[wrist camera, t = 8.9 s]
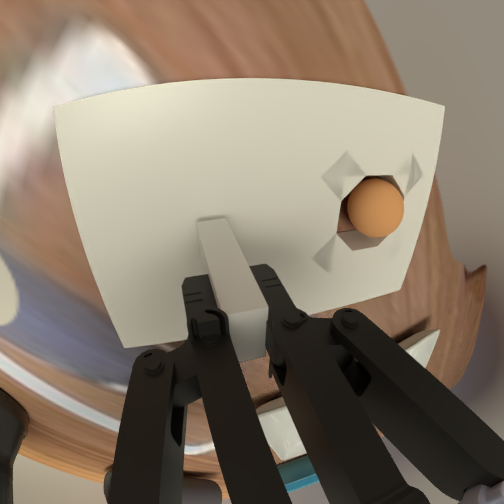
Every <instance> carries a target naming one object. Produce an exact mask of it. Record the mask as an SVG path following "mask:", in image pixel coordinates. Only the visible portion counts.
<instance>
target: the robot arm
mask: <svg viewBox="0 0 504 504" xmlns="http://www.w3.org/2000/svg"><path fill="white" fill-rule="evenodd" d="M196 225H197V235H198V244H199V253H200V262H201V269H202V272H203V275H198V276H192V277H186V278H185V279H184V281H183V283H182V286H181V287H182V294H183V300H184V306H185V312H186V318H187V329H188V337H187V339H186V341H185V342H184V343H183V344H182V345H181V346H180V347H178V348H177V349H175V350H173V351H171V352H168V353H166V352H165V351H162V350H158V349H154V350H148V351H146V352H143V353H142V354H140V355H139V356H138V357H137V358H136V360H135V362H134V365H133V369H132V373H131V377H130V381H129V385H128V390H127V394H126V399H125V403H124V408H123V413H122V418H121V423H120V428H119V434H118V439H117V445H116V450H115V457H114V463H113V469H112V476H111V484H110V492H109V500H108V504H182V484H183V463H184V446H185V431H186V418H187V406H188V404H190V403H192V402H194V401H196V400H197V399H199V398H201V397H202V399H203V403H204V407H205V412H206V416H207V420H208V424H209V427H210V431H211V435H212V439H213V443H214V446H215V450H216V454H217V457H218V461H219V464H220V467H221V471H222V474H223V477H224V481H225V484H226V487H227V490H228V493H229V497H230V499H231V503H232V504H292V502H291V500H290V497H289V495H288V492H287V490H286V488H285V485H284V483H283V480H282V478H281V475H280V473H279V470H278V468H277V465H276V463H275V460H274V458H273V455H272V452H271V450H270V447H269V445H268V442H267V439H266V437H265V434H264V431H263V429H262V426H261V423H260V421H259V418H258V415H257V412H256V410H255V407H254V404H253V401H252V399H251V396H250V393H249V390H248V387H247V384H246V381H245V379H244V376H243V373H242V370H241V367H240V364H239V362H243V361H247V360H252V359H256V358H260V357H265V356H266V349H267V352H268V354H269V357H270V362H269V378H272V373H273V376H274V378H275V380H276V383H277V385H278V388H279V390H280V392H281V395H282V397H283V399H284V402H285V404H286V407H287V409H288V411H289V414H290V416H291V418H292V421H293V423H294V425H295V427H296V430H297V432H298V434H299V437H300V439H301V441H302V443H303V446H304V448H305V450H306V453H307V455H308V457H309V459H310V462H311V464H312V466H313V468H314V470H315V473H316V475H317V477H318V479H319V481H320V484H321V486H322V488H323V490H324V492H325V494H326V497H327V499H328V501H329V503H330V504H430V502H429V500H428V499H427V497H426V496H425V495H424V493H423V492H422V491H420V490H419V489H417V488H414V487H412V486H409V485H408V484H407V483H406V481H405V480H404V478H403V476H402V475H401V473H400V471H399V469H398V468H397V466H396V464H395V462H394V461H393V459H392V457H391V455H390V453H389V452H388V450H387V448H386V446H385V445H384V443H383V441H382V439H381V438H380V436H379V434H378V432H377V431H376V429H375V427H374V425H375V426H376V427H377V428H378V429H379V430H380V431H381V432H382V433H383V435H384V436H385V437H386V438H387V439H388V440H389V441H390V442H391V443H392V444H393V445H394V446H395V447H396V448H397V449H398V450H399V451H400V452H401V453H402V454H403V455H404V456H405V457H406V458H407V459H408V460H409V461H410V462H411V463H412V464H413V465H414V466H415V467H416V468H417V469H418V470H419V471H420V472H421V473H422V474H423V475H424V476H425V477H426V478H427V479H428V480H429V481H430V482H431V483H432V484H433V485H434V486H435V487H437V488H438V489H439V490H440V491H441V492H443V493H444V494H446V495H448V496H449V497H451V498H453V499H455V500H458V501H460V502H459V503H458V504H504V441H503V440H502V439H501V438H500V437H499V436H498V435H497V434H496V433H495V432H494V431H493V430H492V429H491V428H490V427H489V426H488V425H486V424H485V423H484V422H483V421H482V420H481V419H480V418H479V417H478V416H477V415H476V414H475V413H474V412H473V411H472V410H471V409H469V408H468V407H467V406H466V405H465V404H464V403H463V402H462V401H461V400H460V399H459V398H457V397H456V396H455V395H454V394H453V393H452V392H451V391H450V390H449V389H448V388H447V387H445V386H444V385H443V384H442V383H441V382H440V381H439V380H438V379H437V378H435V377H434V376H433V375H432V374H431V373H430V372H429V371H428V370H427V369H425V368H424V367H423V366H422V365H421V364H420V363H419V362H418V361H416V360H415V359H414V358H413V357H412V356H411V355H410V354H409V353H407V352H406V351H405V350H404V349H403V348H402V347H401V346H399V345H398V344H397V343H396V342H395V341H394V340H393V339H391V338H390V337H389V336H388V335H387V334H386V333H384V332H383V331H382V330H381V329H380V328H379V327H378V326H376V325H375V324H374V323H373V322H372V321H371V320H369V319H368V318H367V317H366V316H365V315H364V314H362V313H361V312H359V311H358V310H355V309H351V308H343V309H340V310H338V311H336V312H335V313H334V315H333V318H312V317H309V316H308V315H307V313H306V312H304V311H302V310H300V309H297V308H296V306H295V305H294V303H293V301H292V299H291V298H290V296H289V294H288V293H287V291H286V289H285V287H284V286H283V285H282V282H281V281H280V279H279V278H278V276H277V274H276V272H275V270H274V269H273V268H271V267H270V266H268V265H267V264H266V263H265V264H259V265H253V266H249V265H248V263H247V261H246V259H245V257H244V255H243V253H242V251H241V249H240V247H239V245H238V243H237V240H236V238H235V236H234V234H233V232H232V230H231V228H230V226H229V224H228V222H227V220H226V218H222V219H214V220H207V221H200V222H196ZM28 423H29V418H28V415H27V413H26V412H25V410H24V409H23V408H22V407H21V406H20V405H19V404H18V403H17V402H16V401H15V400H14V399H13V398H11V397H10V396H9V395H8V394H6V393H5V392H4V391H2V390H1V389H0V504H13V464H14V461H15V458H16V456H17V453H18V451H19V448H20V446H21V443H22V440H23V439H24V438H25V437H26V435H27V432H28ZM372 423H373V424H374V425H373V424H372Z"/></svg>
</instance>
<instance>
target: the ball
mask: <svg viewBox="0 0 504 504" xmlns="http://www.w3.org/2000/svg"><path fill="white" fill-rule="evenodd" d="M347 210H348V215H349V218H350V221H351V223H352V224H353V226H354V227H355V228H356V229H357V230H358V231H359V232H361V233H362V234H364V235H366V236H369V237H375V238H376V237H384V236H387V235H389V234H391V233H392V232H394V231H395V230H396V229H397V228H398V226H399V225H400V223H401V221H402V219H403V215H404V203H403V199H402V197H401V194H400V193H399V191H398V190H397V189H396V188H395V186H393V185H392V184H391V183H389V182H387V181H385V180H382V179H376V178H374V179H367V180H365V181H363V182H361V183H359V184H358V185H357V186H356V187H355V188H354V189H353V190H352V192H351V194H350V196H349V199H348V204H347Z"/></svg>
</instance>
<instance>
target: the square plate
mask: <svg viewBox="0 0 504 504" xmlns="http://www.w3.org/2000/svg"><path fill="white" fill-rule="evenodd" d="M439 332H440V330H439V329H432V330H424V331H421V332H418V333H416V334H414V335H412V336H411V337H409V338H407V339H405V340H403V341H402V342H400V343H398V345H399V346H401V347H402V348H403V349H404V350H405V351H406V352H407V353H409V354H410V355H411V356H412V357H413V358H414V359H415V360H416V361H418V362H419V363H420V364H421V365H422V366H423V367H424V368H425V367H426V365H427V363H428V361H429V358H430V356H431V353H432V351H433V349H434V346H435V343H436V341H437V338H438V335H439ZM256 412H257V415H258V418H259V421H260V423H261V426H262V429H263V431H264V434H265V437H266V439H267V442H268V445H269V446H270V447H271V448H272V449H273V450H274V452H275V453H276V454H277V456H278V457H279V458H280V459H281V460H287V459H290V458H293V457H296V456H299V455H302V454H305V453H306V450H305V448H304V446H303V443H302V441H301V439H300V437H299V434H298V432H297V430H296V427H295V425H294V423H293V421H292V418H291V416H290V414H289V411H288V409H287V407H286V404H285V402H284V399H283V397H280V398H277V399H275V400H272V401H270V402H268V403H265V404H263V405H261V406H260V407H258V408H257V409H256Z"/></svg>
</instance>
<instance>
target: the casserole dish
mask: <svg viewBox="0 0 504 504" xmlns="http://www.w3.org/2000/svg"><path fill="white" fill-rule="evenodd" d="M277 468H278V470H279V473H280V475H281V478H282V480H283V483H284V485H285V488H286V490H287V492H291V491H295V490H298V489H301V488H303V487H306V486H309V485H312V484H314V483H317V482H320V481H319V479H318V477H317V475H316V473H315V470H314V468H313V466H312V464H311V462H310V459H309V457H308V455H307V454H306V455H303V456H301V457H300V458H295V459H293V460H290V461H287V462H284V463H282V464H279V465H277Z"/></svg>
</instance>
